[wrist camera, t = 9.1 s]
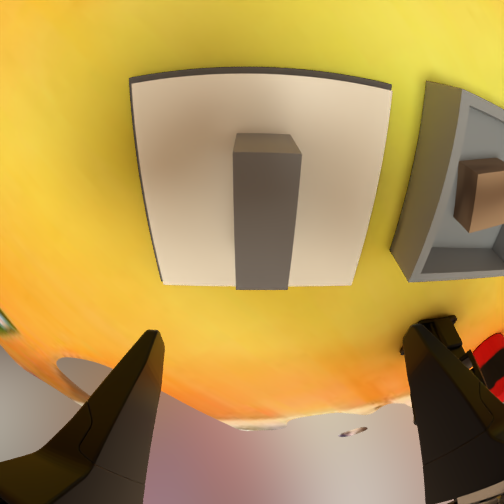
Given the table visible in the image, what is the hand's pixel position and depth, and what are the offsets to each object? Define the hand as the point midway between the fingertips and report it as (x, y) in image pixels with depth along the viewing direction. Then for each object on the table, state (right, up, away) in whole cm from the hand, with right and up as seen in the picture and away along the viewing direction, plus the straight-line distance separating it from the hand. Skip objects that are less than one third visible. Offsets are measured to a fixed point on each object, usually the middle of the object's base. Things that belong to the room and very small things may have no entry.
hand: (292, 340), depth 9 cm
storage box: (+17, +9, +8) cm, 21 cm away
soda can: (+41, -14, +25) cm, 50 cm away
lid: (-1, +7, +9) cm, 11 cm away
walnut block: (+17, +8, +8) cm, 21 cm away
